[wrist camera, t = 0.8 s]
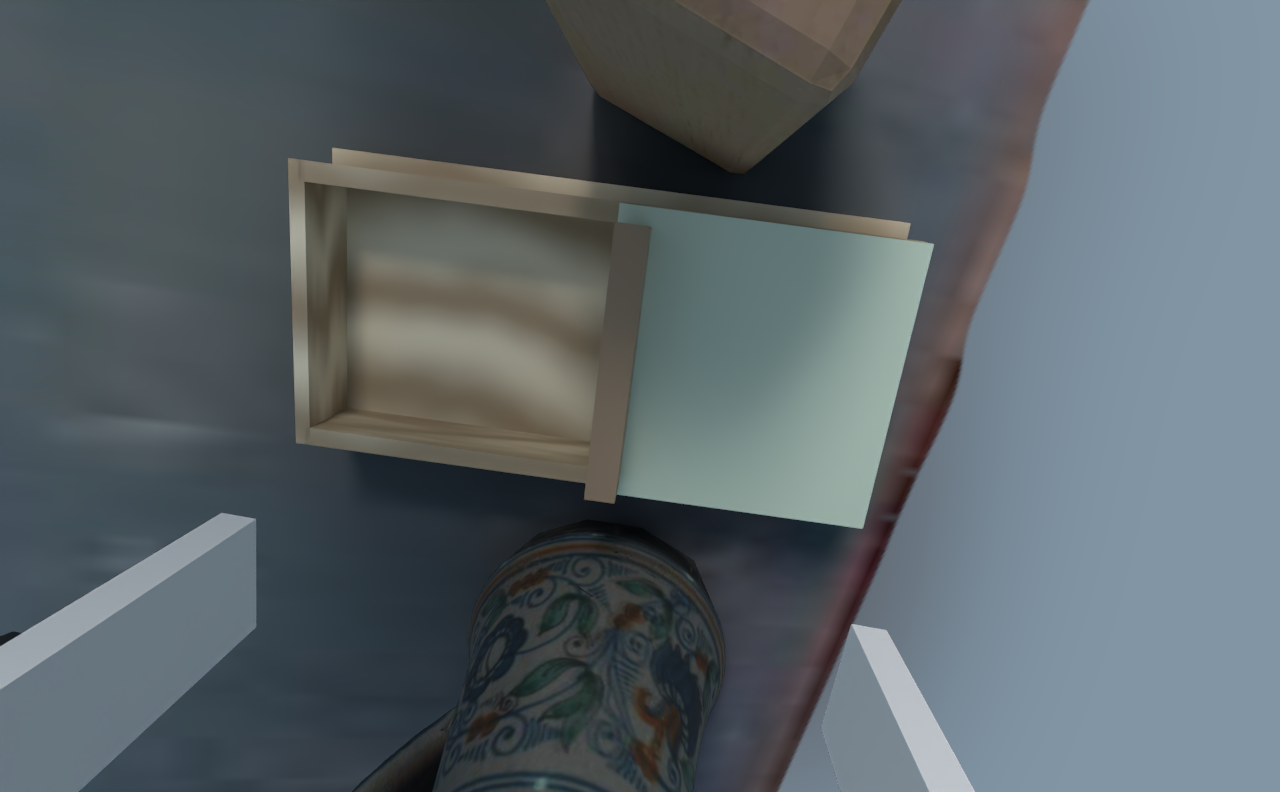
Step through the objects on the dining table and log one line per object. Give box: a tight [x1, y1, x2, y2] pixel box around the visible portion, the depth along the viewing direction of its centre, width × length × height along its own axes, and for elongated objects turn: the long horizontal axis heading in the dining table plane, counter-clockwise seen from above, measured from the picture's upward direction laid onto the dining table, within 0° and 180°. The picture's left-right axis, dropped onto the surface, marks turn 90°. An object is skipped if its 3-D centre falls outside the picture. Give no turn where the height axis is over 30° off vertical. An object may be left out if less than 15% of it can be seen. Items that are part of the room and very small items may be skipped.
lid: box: [584, 203, 934, 529], centre depth 29 cm, size 15×15×4 cm
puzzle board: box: [288, 148, 927, 483], centre depth 34 cm, size 17×32×5 cm, turn 83°
